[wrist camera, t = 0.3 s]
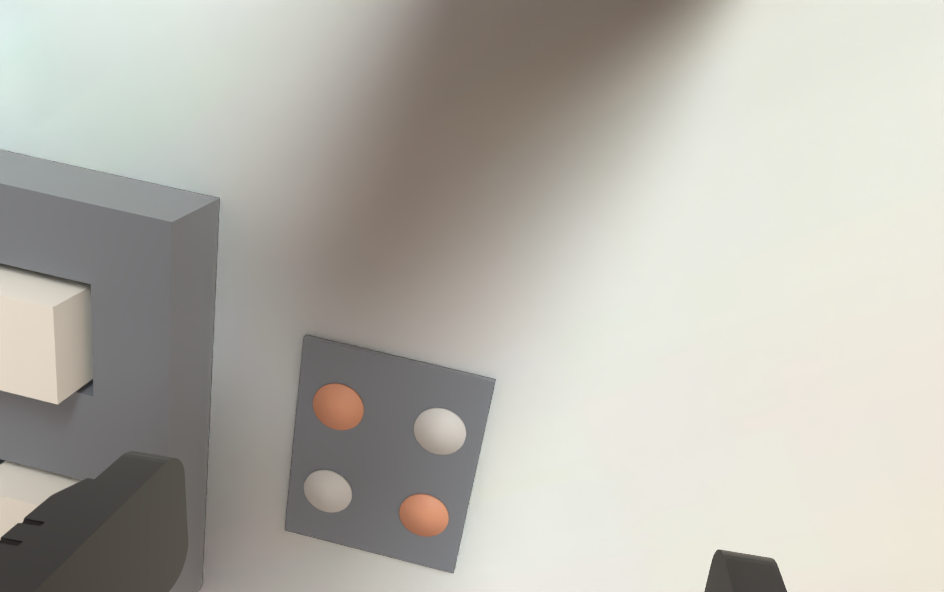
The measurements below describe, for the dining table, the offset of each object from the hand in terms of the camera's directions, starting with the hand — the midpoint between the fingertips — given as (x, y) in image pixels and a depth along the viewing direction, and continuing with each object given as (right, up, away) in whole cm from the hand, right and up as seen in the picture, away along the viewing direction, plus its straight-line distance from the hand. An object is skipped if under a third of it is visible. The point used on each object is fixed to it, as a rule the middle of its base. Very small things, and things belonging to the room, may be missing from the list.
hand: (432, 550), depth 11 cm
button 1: (-16, +3, +18) cm, 24 cm away
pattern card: (-3, -3, +21) cm, 21 cm away
